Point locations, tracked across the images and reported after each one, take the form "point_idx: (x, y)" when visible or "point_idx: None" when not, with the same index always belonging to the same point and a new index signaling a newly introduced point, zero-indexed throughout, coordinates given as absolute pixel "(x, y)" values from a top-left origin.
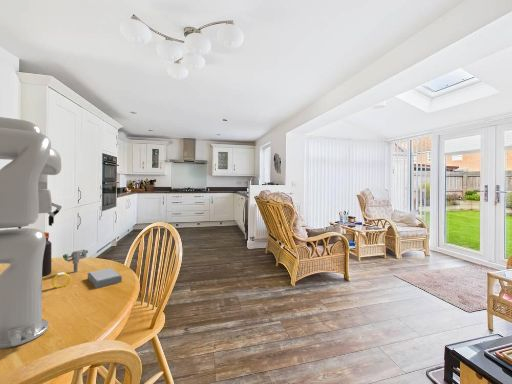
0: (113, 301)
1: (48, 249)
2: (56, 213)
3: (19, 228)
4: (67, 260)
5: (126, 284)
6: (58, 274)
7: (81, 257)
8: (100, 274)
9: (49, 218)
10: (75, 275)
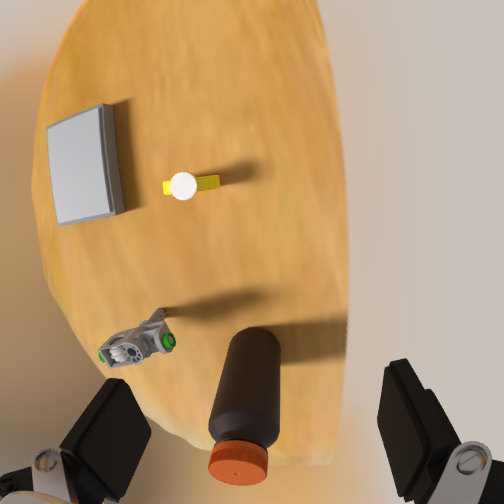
0: (104, 11)
1: (221, 396)
2: (24, 472)
3: (397, 360)
4: (163, 322)
5: (54, 102)
6: (191, 177)
7: (123, 333)
8: (83, 168)
9: (99, 452)
10: (159, 274)
